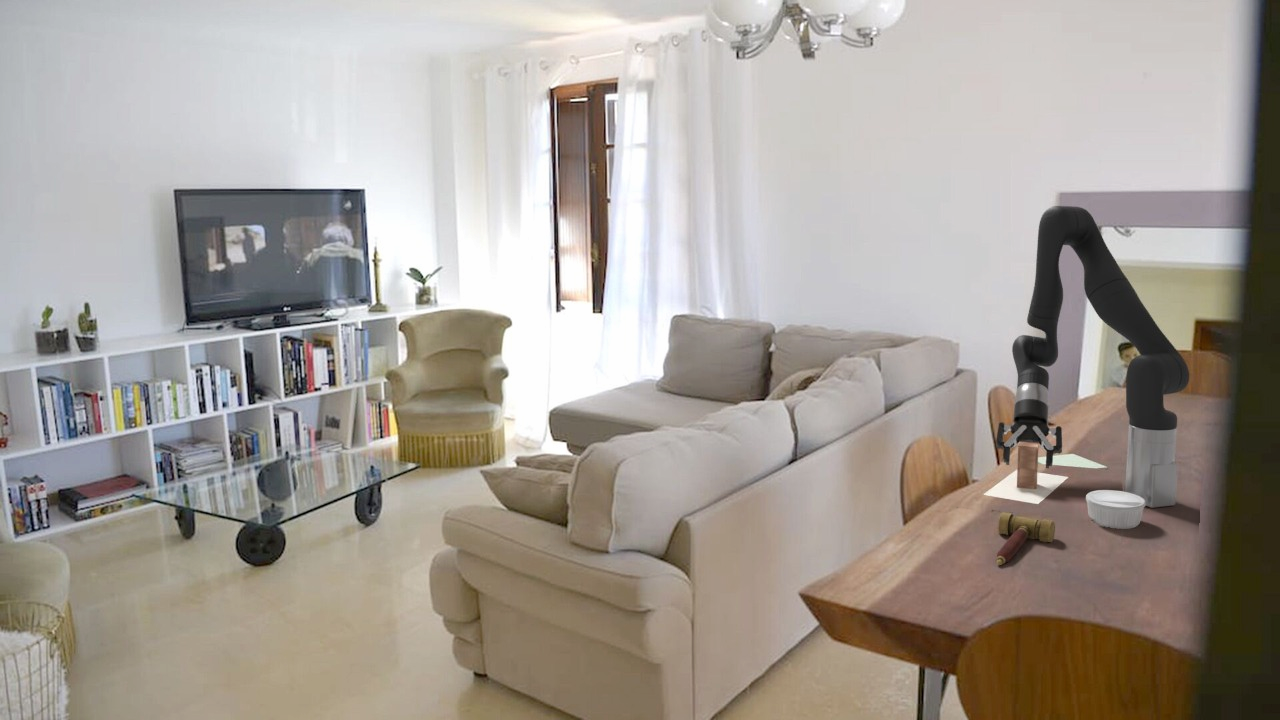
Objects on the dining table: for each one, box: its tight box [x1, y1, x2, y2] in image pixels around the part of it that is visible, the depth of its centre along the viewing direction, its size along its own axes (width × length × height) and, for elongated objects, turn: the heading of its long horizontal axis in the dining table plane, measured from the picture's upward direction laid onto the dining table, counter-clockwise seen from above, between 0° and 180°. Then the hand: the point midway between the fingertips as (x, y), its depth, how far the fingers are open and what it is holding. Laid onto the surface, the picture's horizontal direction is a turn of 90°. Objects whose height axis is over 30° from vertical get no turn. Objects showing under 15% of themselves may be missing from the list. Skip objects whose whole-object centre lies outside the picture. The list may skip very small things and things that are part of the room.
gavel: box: [996, 511, 1056, 566], centre depth 183 cm, size 21×5×10 cm
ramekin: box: [1085, 489, 1146, 530], centre depth 196 cm, size 11×11×5 cm
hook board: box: [982, 469, 1069, 505], centre depth 218 cm, size 24×12×7 cm, turn 141°
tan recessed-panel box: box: [1016, 441, 1040, 489], centre depth 218 cm, size 4×4×10 cm
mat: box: [1038, 453, 1109, 470], centre depth 238 cm, size 13×13×1 cm
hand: (1027, 465), depth 217 cm, fingers open, 8 cm apart
